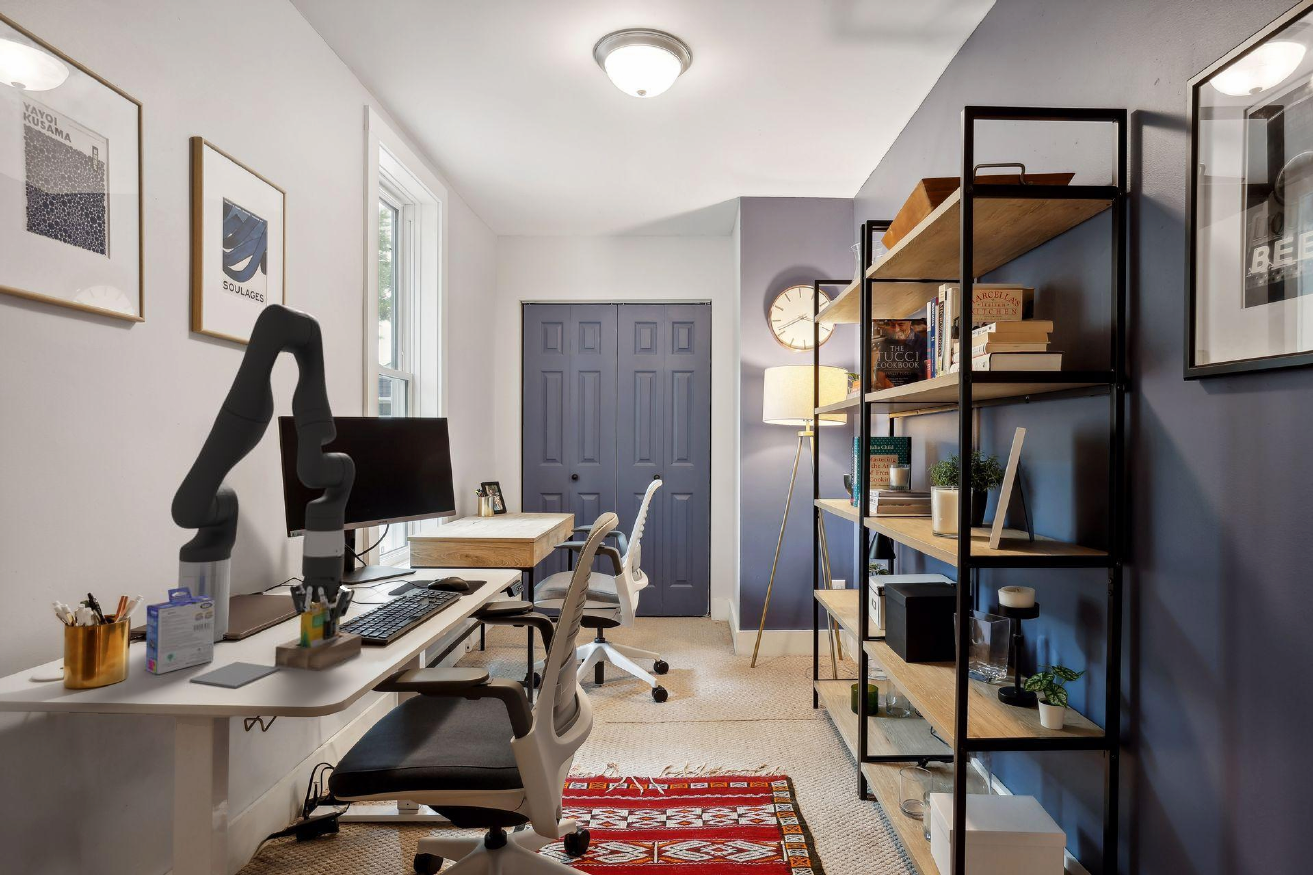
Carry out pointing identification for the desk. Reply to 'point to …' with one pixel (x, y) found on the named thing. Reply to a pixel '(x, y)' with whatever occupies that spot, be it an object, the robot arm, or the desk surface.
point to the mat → (235, 674)
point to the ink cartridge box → (179, 632)
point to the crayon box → (315, 627)
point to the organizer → (318, 652)
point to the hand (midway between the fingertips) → (320, 636)
